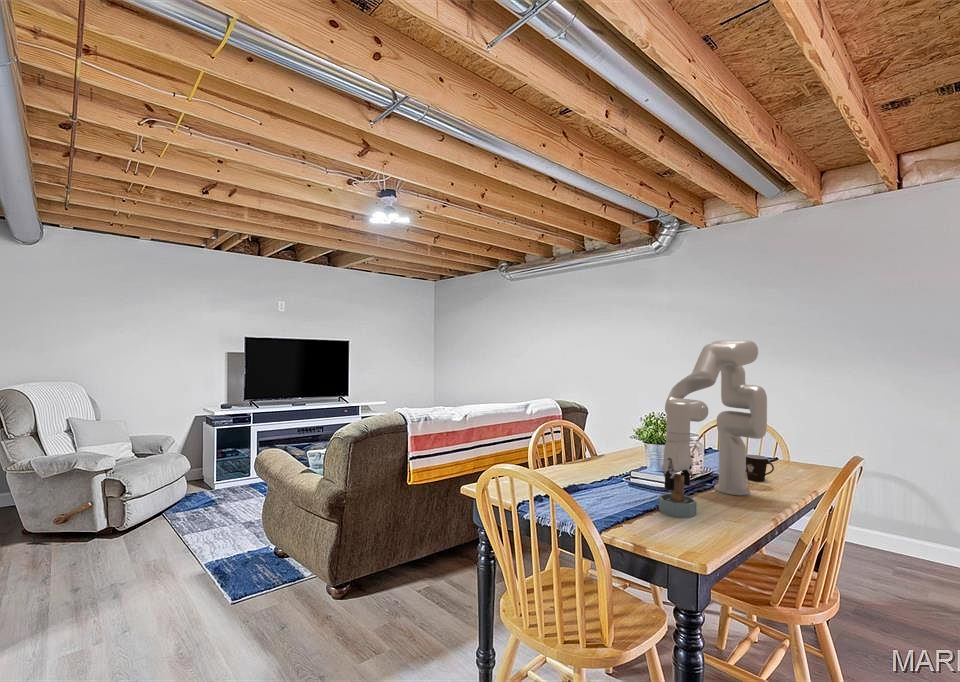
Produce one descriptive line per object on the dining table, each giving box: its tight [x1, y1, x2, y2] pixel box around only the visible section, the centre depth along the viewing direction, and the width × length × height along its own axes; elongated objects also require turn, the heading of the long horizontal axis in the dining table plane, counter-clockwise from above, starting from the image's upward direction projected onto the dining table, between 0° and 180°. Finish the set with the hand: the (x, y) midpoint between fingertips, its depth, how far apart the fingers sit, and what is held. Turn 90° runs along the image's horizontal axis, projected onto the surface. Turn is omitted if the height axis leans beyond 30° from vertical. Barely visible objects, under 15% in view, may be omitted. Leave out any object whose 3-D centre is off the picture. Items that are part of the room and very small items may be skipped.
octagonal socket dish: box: [658, 493, 697, 519], centre depth 167 cm, size 11×11×4 cm
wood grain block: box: [670, 473, 685, 503], centre depth 167 cm, size 3×3×12 cm
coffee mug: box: [746, 454, 775, 483], centre depth 209 cm, size 12×9×10 cm
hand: (677, 487), depth 167 cm, fingers open, 9 cm apart
